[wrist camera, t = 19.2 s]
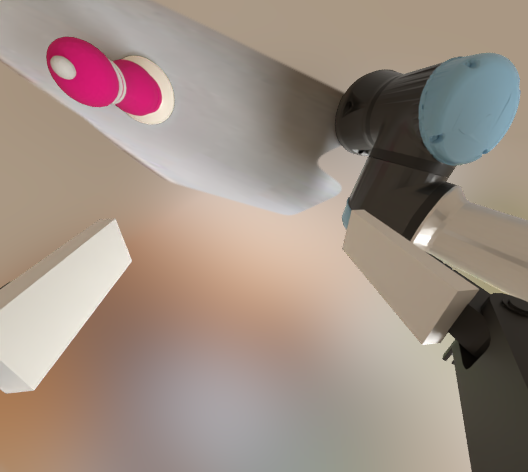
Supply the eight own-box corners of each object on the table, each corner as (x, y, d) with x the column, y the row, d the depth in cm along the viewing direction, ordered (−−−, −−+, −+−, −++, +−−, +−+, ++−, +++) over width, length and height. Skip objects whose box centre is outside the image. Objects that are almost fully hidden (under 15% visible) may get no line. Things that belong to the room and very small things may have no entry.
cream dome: (186, 105, 38) (185, 105, 37) (145, 134, 40) (143, 135, 39) (145, 43, 33) (143, 41, 33) (101, 79, 35) (98, 78, 34)
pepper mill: (136, 121, 38) (52, 121, 20) (111, 74, 34) (-17, 26, 17) (172, 109, 38) (117, 98, 20) (151, 60, 34) (61, -4, 17)
